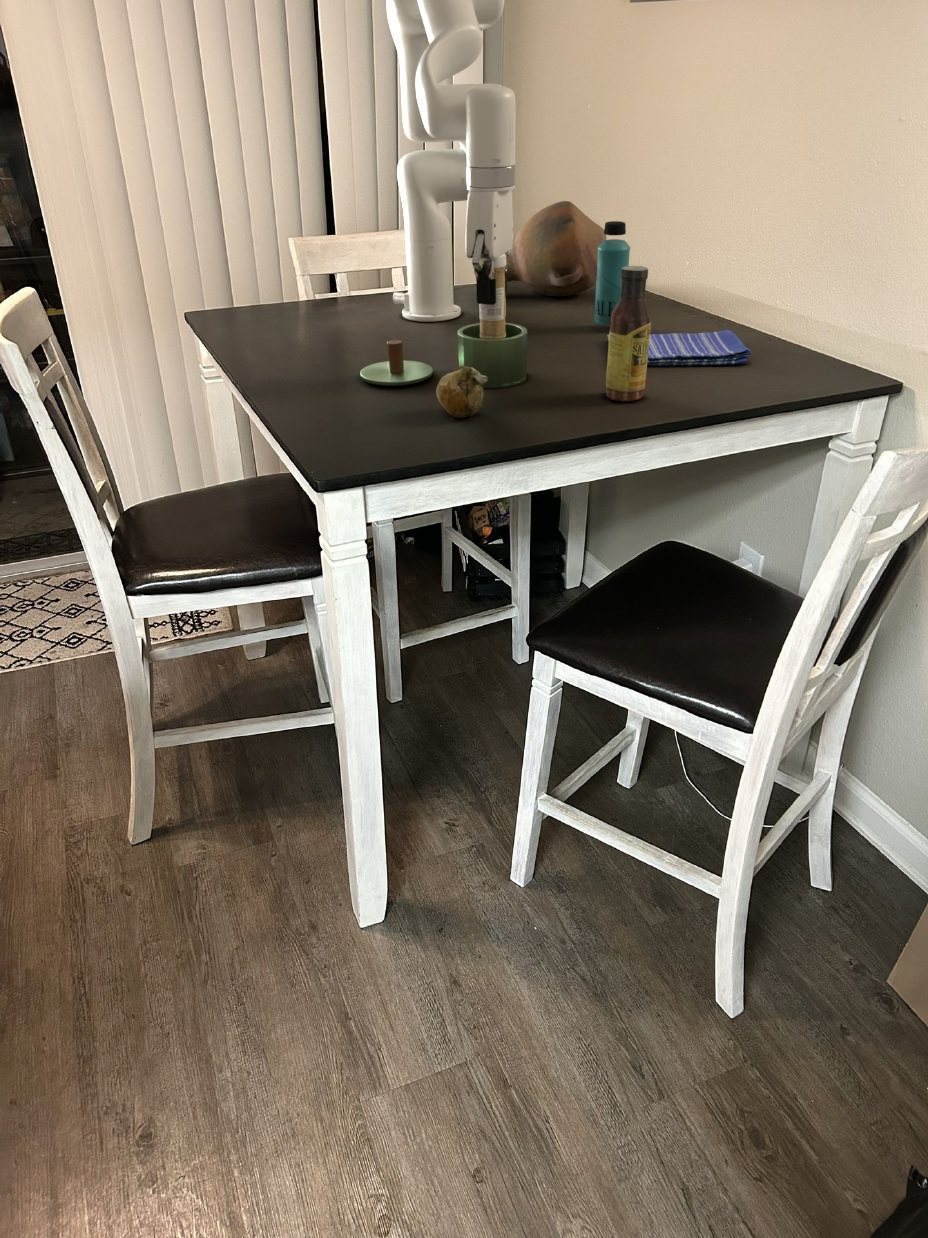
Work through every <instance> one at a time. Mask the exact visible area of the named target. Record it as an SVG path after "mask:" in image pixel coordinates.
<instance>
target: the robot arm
mask: <svg viewBox="0 0 928 1238" xmlns="http://www.w3.org/2000/svg"><path fill="white" fill-rule="evenodd" d="M385 1H386V4H385V6H386V16H387V17H386V18H387V22H388V26H389V30H390V33H391V36H392V39H393V43H394V45H395V48H396V52H397V55H398V59H399V73H400V74H399V75H400V97H401V98H400V99H401V100H400V101H401V117H402V126H403V130H404V134H405V136H406V138H407V139H408V140H410V141H411V142H415V143H448V142H450V143H451V142H457V143H458V144H459V147H460V148H445V149H442V148H436V149H421V150H414V151H410V152H408V153H406V154H404V155H403V156H402V157H401V158H400V159H399V161H398V163H397V168H396V177H397V183H398V188H399V189H398V190H399V194H400V198H401V205H402V210H403V223H404V237H405V238H404V239H405V255H406V274H407V275H406V276H407V292H406V293H403V292H393V294H392V301H393V304H396V305H403V306H404V307H403V308H402V311H401V314H402V315H401V316H402V317H403V318H404V319H406V320H410V321H414V322H425V323H426V322H427V323H429V322H432V323H433V322H442V321H449V320H453V319H456V318H458V317H460V316H461V314H462V310H461V309H462V308H461V307H460V306H459V305H457V304H454V272H453V241H452V240H453V239H452V238H453V237H452V227H451V223H450V221H449V219H448V217H447V216H446V214H445V213H444V212H443V211H442V210H441V209H440V207H439V204H442V203H451V202H452V203H453V202H465V201H467V202H466V215H465V256H466V257H467V258H468V259H471V264H472V267H473V266H474V267H475V270H476V275H475V274H474V277H475V276H476V278H475V281H476V282H475V283H476V303H477V304H478V305H479V304H488V305H494V304H495V303H496V279H494V266H495V258H497V257H499V256H501V255H502V254H505V255H506V266H505V298H506V297H508V282H507V272H506V271H507V269H508V265H507V258H508V254H509V253H510V250H512V249H513V246H514V244H513V243H514V205H513V192H512V191H513V190H516V125H517V124H516V121H517V120H516V114H517V113H516V111H517V110H516V105H517V104H516V103H517V102H516V94H515V92H514V91H513V89H512V88H510V87H507V86H504V85H502V84H499V83H458V84H457V83H456V84H454V83H453V84H447V82H446V80H447V79H450V78H451V77H453V76H455V75H457V74H459V73H460V72H462V71H464V70H466V69H468V68H469V67H470V66H471V65H473V64H474V63H475V62H476V60H477V59H478V57H479V56H480V54H481V52H482V48H483V43H484V41H483V40H484V39H483V33H482V32H483V31H484V30H487V29H490V28H491V27H493V26H494V25H496V24H497V23H498V22H499V21H500V20H501V18H502V15H503V12H504V8H505V0H385ZM484 254H489V255H488V256H489V257H490V258H483V255H484ZM484 262H489V268H488V266H487V264H486V263H484Z"/></svg>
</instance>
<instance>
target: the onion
mask: <svg viewBox="0 0 928 1238" xmlns="http://www.w3.org/2000/svg"><path fill="white" fill-rule="evenodd" d="M461 368H462V369H461V370H459V369H457V370H453V371H451V372H448V373H447V374H445V375H443V376H442V377H440V380H439V381H438V383H437V386H436V389H435V393H436V397H437V400H438V402H439V404H440V405H441V408H443V409H444V410H445V411H446V413H447V414H448V415H450V416H452V417H454V418H459V419H463V418H469V417H472V416H473V415H475V414H476V413H477V412H478V411H480V410H481V408H482V406H483V404H484V399H485V391H484V389H485V388H482V386H479V384H482V385H483V384H484V383H485V382H486V381H487V380H488V378H487V377H486V376H483V375H481V374H480V373H479V372H478V371H477V370H475V369H474V368H473V367H468V366H461ZM478 383H479V384H478Z"/></svg>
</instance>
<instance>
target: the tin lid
mask: <svg viewBox="0 0 928 1238" xmlns="http://www.w3.org/2000/svg"><path fill="white" fill-rule="evenodd" d="M386 347H387V361H381V362H380V361H379V362H376V363H372V364H369V365H367V366H365V367H363V368H362V369H361V370H360V373H359V375H360V378H361V380H362V381H364V382H365V383H368V384H371V385H372V384H373V385H378V386H388V387H389V386H407V385H412V384H417V383H420V382H421V383H422V382H423V381H426V380H428V379H430V378H431V377H432V376H433V374H434V369H433V367H432V366H431V365H430V364H427V363H425V362H422V361H416V360H404V346H403V341H402V340H401V339H391V340H387V342H386Z"/></svg>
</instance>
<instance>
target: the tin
mask: <svg viewBox="0 0 928 1238" xmlns="http://www.w3.org/2000/svg"><path fill="white" fill-rule="evenodd" d="M505 333H506V337H505V338H503V339H481V338H480V322H477V323H471V324H468V325H463V326H462V327H460V328H459V329H458V330H457V347H458V348H457V349H458V351H457V352H458V353H457V354H458V370H461V369H462V368H461V366H468V367H473V368H474V369H475V370H477V371H478V372H479V373H480V374H481V375H483V376H486V377H487V378H488V380H487V381H486V382H485V383H484V384H483V385H482V384H479V383H478V384H479V386H482V388H483V389H503V388H510V387H514V386H517V385H520V384H522V383H524V382H525V381H526V379H527V375H528V374H527V373H528V330H527V328H526V327H524V326H522V325H520V324H516V323H511V322H505Z"/></svg>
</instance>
